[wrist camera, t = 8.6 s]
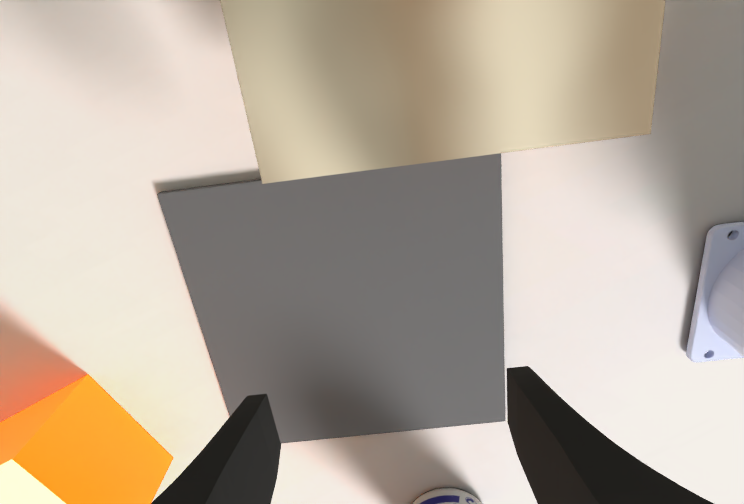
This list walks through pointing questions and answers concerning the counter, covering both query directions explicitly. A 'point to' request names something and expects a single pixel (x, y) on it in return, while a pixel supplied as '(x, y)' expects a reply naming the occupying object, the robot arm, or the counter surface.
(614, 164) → the counter surface
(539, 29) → the lid
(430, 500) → the energy drink
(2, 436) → the orange juice
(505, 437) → the counter surface
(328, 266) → the mat
